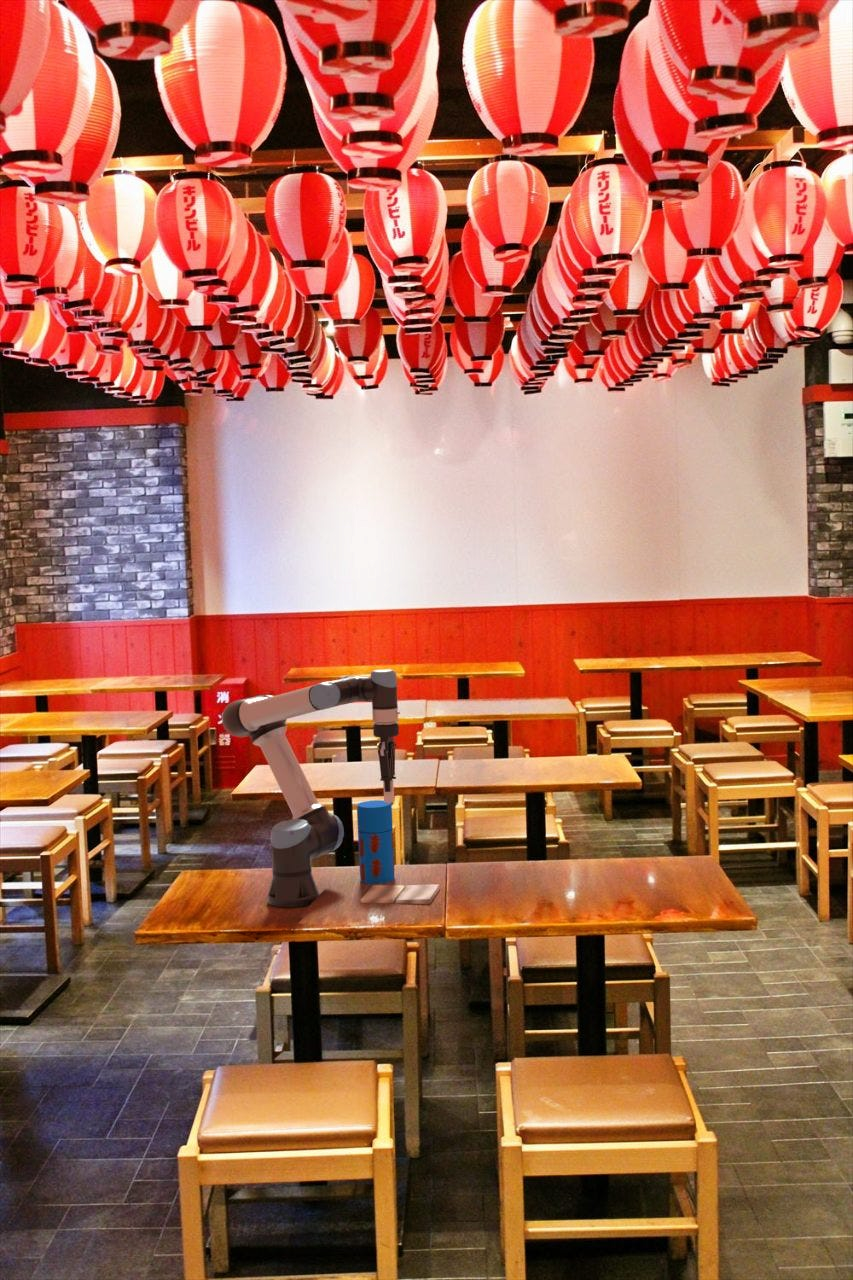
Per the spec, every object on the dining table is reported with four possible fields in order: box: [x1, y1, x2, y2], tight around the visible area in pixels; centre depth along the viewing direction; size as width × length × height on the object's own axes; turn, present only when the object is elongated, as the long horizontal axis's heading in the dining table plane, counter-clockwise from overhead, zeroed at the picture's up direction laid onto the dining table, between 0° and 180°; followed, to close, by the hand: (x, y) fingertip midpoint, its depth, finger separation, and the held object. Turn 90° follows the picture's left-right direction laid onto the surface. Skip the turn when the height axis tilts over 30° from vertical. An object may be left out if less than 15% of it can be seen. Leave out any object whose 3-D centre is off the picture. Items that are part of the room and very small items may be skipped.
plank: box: [395, 883, 441, 905], centre depth 351 cm, size 10×15×2 cm, turn 168°
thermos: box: [356, 799, 395, 885], centre depth 371 cm, size 11×11×25 cm
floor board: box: [360, 884, 406, 904], centre depth 353 cm, size 21×16×2 cm
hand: (389, 801), depth 351 cm, fingers closed
